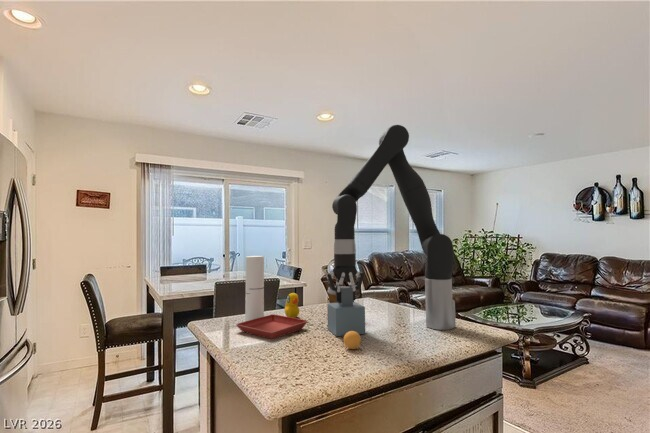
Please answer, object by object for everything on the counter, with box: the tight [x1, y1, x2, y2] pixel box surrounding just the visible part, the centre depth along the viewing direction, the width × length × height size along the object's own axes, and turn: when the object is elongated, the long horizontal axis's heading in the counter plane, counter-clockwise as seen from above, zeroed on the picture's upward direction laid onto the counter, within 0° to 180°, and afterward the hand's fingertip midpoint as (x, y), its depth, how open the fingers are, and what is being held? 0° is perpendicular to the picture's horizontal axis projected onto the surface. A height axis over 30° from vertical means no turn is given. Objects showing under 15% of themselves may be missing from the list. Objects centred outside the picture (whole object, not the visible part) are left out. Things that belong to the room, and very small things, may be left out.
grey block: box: [326, 285, 366, 337], centre depth 120 cm, size 10×10×15 cm
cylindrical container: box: [244, 255, 265, 322], centre depth 138 cm, size 7×7×25 cm
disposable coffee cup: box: [326, 285, 346, 303], centre depth 140 cm, size 10×10×12 cm
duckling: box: [284, 292, 300, 319], centre depth 141 cm, size 11×5×10 cm, turn 21°
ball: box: [343, 331, 362, 350], centre depth 101 cm, size 5×5×5 cm
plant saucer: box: [235, 313, 308, 340], centre depth 122 cm, size 18×18×3 cm
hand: (345, 302), depth 120 cm, fingers closed on grey block, 4 cm apart
